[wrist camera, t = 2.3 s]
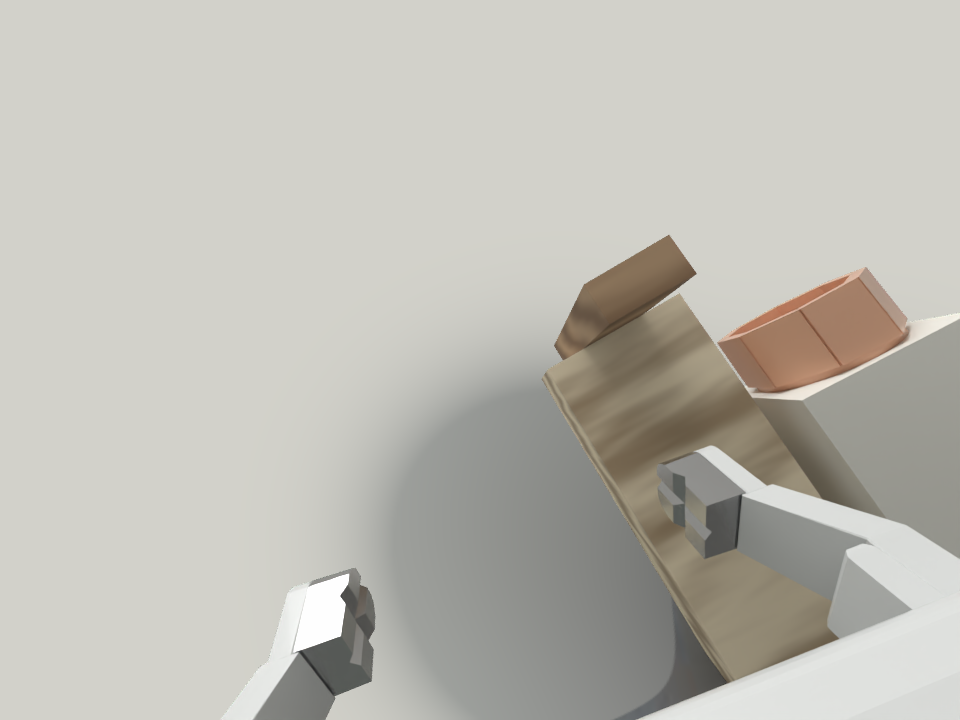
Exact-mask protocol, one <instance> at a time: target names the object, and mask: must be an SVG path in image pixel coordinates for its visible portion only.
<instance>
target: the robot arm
mask: <svg viewBox="0 0 960 720" xmlns="http://www.w3.org/2000/svg"><path fill="white" fill-rule="evenodd" d="M657 476H658V477H659V478H660V479H661V480H662V481H661V483H660V484H659V486H658V487H657V489H658V498H659V500H660V503H661V506H662V508H663V509H664V511H665V513H666V514H667V516H668V517H669V518H670V519H671V521H672V522H673V523H675V524H677V525H679V526H682V527H684V528H685V537H686V538H687V539H688V541H689V542H690V543H691V544H692V545H693V546H694V548H695V549H696V550H697V551H698V552H699V553H700V555H701V556H702V557H703V558H704V559H707V558H710V557H713V556H716V555H719V554H722V553H725V552H728V551H731V550H734V549H737V551H739V552H741V553H742V554H744V555H746V556H748V557H750V558H752V559H754V560H756V561H757V562H759V563H761V564H763V565H765V566H767V567H769V568H771V569H772V570H774V571H776V572H778V573H780V574H782V575H784V576H786V577H787V578H789V579H791V580H793V581H795V582H797V583H799V584H801V585H802V586H804V587H806V588H808V589H810V590H812V591H814V592H816V593H817V594H819V595H821V596H823V597H825V598H827V599H829V600H831V601H832V604H831V607H830V611H829V615H828V618H827V627H828V628H829V629H830V630H831V631H832V632H833V633H834V634H835V635H836V636H837V637H838V638H839V639H838V640H835V641H833V642H830V643H828V644H825V645H823V646H820V647H818V648H815V649H813V650H810V651H808V652H805V653H803V654H800V655H798V656H795V657H793V658H790V659H788V660H785V661H783V662H780V663H778V664H775V665H773V666H770V667H768V668H765V669H763V670H760V671H758V672H755V673H753V674H750V675H748V676H745V677H743V678H740V679H737V680H735V681H732V682H730V683H727V684H725V685H722V686H720V687H717V688H715V689H712V690H710V691H707V692H705V693H702V694H700V695H697V696H695V697H692V698H690V699H687V700H685V701H682V702H680V703H677V704H675V705H672V706H670V707H667V708H665V709H662V710H660V711H657V712H655V713H652V714H650V715H647V716H645V717H642V718H640V719H637V720H960V559H958V558H957V557H955V556H954V555H952V554H951V553H949V552H948V551H946V550H944V549H943V548H941V547H940V546H938V545H937V544H935V543H933V542H932V541H930V540H929V539H927V538H926V537H924V536H923V535H921V534H919V533H918V532H916V531H915V530H913V529H912V528H910V527H909V526H907V525H904V524H901V523H897V522H894V521H891V520H888V519H884V518H881V517H878V516H875V515H871V514H868V513H865V512H862V511H858V510H855V509H852V508H849V507H845V506H842V505H839V504H836V503H832V502H829V501H826V500H823V499H819V498H816V497H813V496H810V495H806V494H803V493H800V492H797V491H793V490H790V489H787V488H784V487H780V486H777V485H774V484H772V485H768V486H767V485H765V484H764V483H763V482H761V481H760V480H759V479H758V478H756V477H755V476H754V475H752V474H751V473H750V472H748V471H747V470H746V469H744V468H743V467H742V466H741V465H739V464H738V463H737V462H735V461H734V460H733V459H731V458H730V457H729V456H728V455H726V454H725V453H724V452H722V451H721V450H720V449H718V448H717V447H715V446H712V445H711V446H708V447H705V448H702V449H699V450H696V451H694V452H690V453H687V454H684V455H682V456H679V457H676V458H673V459H670V460H667V461H665V462H662V463H659V464H658V466H657ZM360 580H361V576H360V574H359V573H358V571H357V570H356V568H352V569H349V570H346V571H342V572H339V573H336V574H333V575H329V576H326V577H323V578H320V579H316V580H314V581H311V582H308V583H305V584H301V585H298V586H295V587H292V588H291V590H290V591H289V593H288V594H287V597H286V600H285V603H284V607H283V610H282V614H281V617H280V621H279V624H278V628H277V631H276V635H275V639H274V642H273V645H272V649H271V652H270V655H269V659H268V662H267V663H266V664H263V665H261V666H260V667H259V668H258V670H257V671H256V672H255V674H254V675H253V676H252V678H251V679H250V680H249V682H248V683H247V684H246V686H245V687H244V688H243V690H242V691H241V693H240V694H239V695H238V697H237V698H236V699H235V701H234V702H233V703H232V705H231V706H230V707H229V709H228V710H227V711H226V713H225V714H224V715H223V717H222V718H221V719H220V720H325V719H326V717H327V715H328V713H329V711H330V709H331V706H332V704H333V702H334V700H335V697H334V696H336V695H339V694H341V693H344V692H346V691H349V690H351V689H354V688H356V687H359V686H361V685H363V684H366V683H369V682H371V681H372V667H373V651H374V650H373V647H372V646H371V644H370V643H369V641H368V640H369V638H370V636H371V635H372V633H373V631H374V629H375V611H374V603H373V599H372V596H371V594H370V592H369V590H368V588H366V587H364V586H361V585H360Z"/></svg>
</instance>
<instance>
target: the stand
mask: <svg viewBox="0 0 960 720" xmlns="http://www.w3.org/2000/svg"><path fill="white" fill-rule="evenodd" d="M542 380H543V382H544V384H545V385H546V387H547V389H548V390H549V392H550V394H551V395H552V397H553V399H554V400H555V402H556V404H557V405H558V407H559V409H560V410H561V412H562V414H563V415H564V417H565V419H566V420H567V422H568V424H569V425H570V427H571V429H572V430H573V432H574V433H575V435H576V437H577V439H578V440H579V442H580V444H581V445H582V447H583V449H584V451H585V452H586V454H587V455H588V457H589V459H590V461H591V462H592V464H593V465H594V467H595V468H596V471H597V472H598V474H599V475H600V477H601V479H602V481H603V482H604V484H605V485H606V487H607V489H608V491H609V492H610V494H611V496H612V497H613V499H614V501H615V502H616V504H617V505H618V507H619V509H620V510H621V512H622V514H623V516H624V517H625V519H626V520H627V522H628V524H629V526H630V527H631V529H632V530H633V532H634V534H635V536H636V537H637V539H638V541H639V542H640V544H641V546H642V547H643V549H644V551H645V552H646V554H647V556H648V557H649V559H650V561H651V562H652V564H653V566H654V567H655V569H656V571H657V572H658V574H659V576H660V577H661V579H662V581H663V582H664V584H665V586H666V587H667V589H668V591H669V592H670V594H671V596H672V597H673V599H674V601H675V602H676V604H677V606H678V607H679V609H680V611H681V612H682V614H683V616H684V617H685V619H686V621H687V622H688V624H689V626H690V627H691V629H692V631H693V632H694V634H695V636H696V638H697V639H698V641H699V643H700V644H701V646H702V648H703V649H704V651H705V652H706V654H707V655H708V656H709V658H710V659H711V661H712V662H713V663H714V665H715V666H716V668H717V669H718V670H719V672H720V673H721V675H722V676H723V677H724V679H725V680H726V681H727V683H730V682H732V681H735V680H737V679H740V678H743V677H745V676H748V675H750V674H753V673H755V672H758V671H760V670H763V669H765V668H768V667H770V666H773V665H775V664H778V663H780V662H783V661H785V660H788V659H790V658H793V657H795V656H798V655H800V654H803V653H805V652H808V651H810V650H813V649H815V648H818V647H820V646H823V645H825V644H828V643H830V642H833V641H835V640H838V639H839V638H838V637H837V636H836V635H835V634H834V633H833V632H832V631H831V630H830V629H829V628H828V627H827V618H828V615H829V611H830V607H831V604H832V601H831V600H829V599H827V598H825V597H823V596H821V595H819V594H817V593H816V592H814V591H812V590H810V589H808V588H806V587H804V586H802V585H801V584H799V583H797V582H795V581H793V580H791V579H789V578H787V577H786V576H784V575H782V574H780V573H778V572H776V571H774V570H772V569H771V568H769V567H767V566H765V565H763V564H761V563H759V562H757V561H756V560H754V559H752V558H750V557H748V556H746V555H744V554H742V553H741V552H739V551H737V549H734V550H731V551H728V552H725V553H722V554H719V555H716V556H713V557H710V558H707V559H704V558H703V557H702V556H701V555H700V553H699V552H698V551H697V550H696V549H695V548H694V546H693V545H692V544H691V543H690V542H689V541H688V539H687V538H686V537H685V528H684V527H682V526H679V525H677V524H675V523H673V522H672V521H671V519H670V518H669V517H668V516H667V514H666V513H665V511H664V509H663V508H662V506H661V503H660V500H659V498H658V489H657V487H658V486H659V484H660V483H661V481H662V480H661V479H660V478H659V477H658V476H657V466H658V464H659V463H662V462H665V461H667V460H670V459H673V458H676V457H679V456H682V455H684V454H687V453H690V452H694V451H696V450H699V449H702V448H705V447H708V446H711V445H712V446H715V447H717V448H718V449H720V450H721V451H722V452H724V453H725V454H726V455H728V456H729V457H730V458H731V459H733V460H734V461H735V462H737V463H738V464H739V465H741V466H742V467H743V468H744V469H746V470H747V471H748V472H750V473H751V474H752V475H754V476H755V477H756V478H758V479H759V480H760V481H761V482H763V483H764V484H765V485H767V486H768V485H772V484H774V485H777V486H780V487H784V488H787V489H790V490H793V491H797V492H800V493H803V494H806V495H810V496H813V497H816V498H819V499H822V498H821V496H820V495H819V493H818V492H817V490H816V489H815V487H814V486H813V485H812V483H811V482H810V480H809V479H808V477H807V476H806V475H805V473H804V472H803V470H802V469H801V467H800V466H799V464H798V463H797V462H796V460H795V459H794V457H793V456H792V454H791V453H790V452H789V450H788V449H787V447H786V446H785V444H784V443H783V441H782V440H781V439H780V437H779V436H778V434H777V433H776V431H775V430H774V429H773V427H772V426H771V424H770V423H769V421H768V420H767V418H766V417H765V416H764V414H763V413H762V411H761V410H760V408H759V407H758V406H757V404H756V403H755V401H754V400H753V398H752V397H751V395H750V394H749V393H748V391H747V390H746V388H745V387H744V386H743V384H742V383H741V381H740V380H739V378H738V377H737V375H736V374H735V372H734V371H733V370H732V368H731V367H730V365H729V364H728V362H727V361H726V360H725V358H724V357H723V355H722V354H721V352H720V351H719V349H718V348H717V347H716V345H715V344H714V342H713V341H712V339H711V338H710V337H709V335H708V334H707V332H706V331H705V329H704V328H703V327H702V325H701V324H700V322H699V321H698V319H697V318H696V317H695V315H694V314H693V312H692V311H691V310H690V308H689V306H688V305H687V304H686V302H685V301H684V299H683V298H682V296H681V295H680V294H678V295H676V296H674V297H672V298H671V299H669V300H667V301H666V302H664V303H662V304H661V305H659V306H657V307H655V308H653V309H652V310H650V311H648V312H646V313H645V314H643V315H641V316H640V317H638V318H636V319H634V320H633V321H631V322H629V323H627V324H626V325H624V326H622V327H621V328H619V329H617V330H615V331H614V332H612V333H610V334H608V335H607V336H605V337H603V338H601V339H600V340H598V341H596V342H595V343H593V344H591V345H589V346H588V347H586V348H584V349H582V350H581V351H579V352H577V353H575V354H574V355H572V356H570V357H569V358H567V359H565V360H563V361H562V362H560V363H558V364H557V365H555V366H553V367H551V368H550V369H548V370H547V372H546V373H545V375H544V376H543V378H542Z"/></svg>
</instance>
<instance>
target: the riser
mask: <svg viewBox="0 0 960 720" xmlns="http://www.w3.org/2000/svg"><path fill="white" fill-rule="evenodd" d="M905 327H906V329H907V330H908V332H909V334H908V336H907V337H906V338H905V339H904V340H903V341H902V342H901V343H899V344H898V345H897V346H895V347H894V348H892V349H890V350H889V351H887V352H885V353H884V354H882V355H880V356H878V357H876V358H874V359H872V360H870V361H868V362H866V363H864V364H862V365H860V366H857V367H855V368H853V369H850V370H848V371H846V372H843V373H841V374H838V375H836V376H833V377H830V378H827V379H825V380H822V381H819V382H816V383H813V384H809V385H806V386H803V387H799V388H795V389H791V390H786V391H781V392H774V393H762V392H760V391H758V389H757V388H748V386H747V385H746V386H744V387H745V388H746V390H747V391H748V393H749V394H750V395H751V397H752V398H753V400H754V401H755V403H756V404H757V406H758V407H759V408H760V410H761V411H762V413H763V414H764V416H765V417H766V418H767V420H768V421H769V423H770V424H771V426H772V427H773V429H774V430H775V431H776V433H777V434H778V436H779V437H780V439H781V440H782V441H783V443H784V444H785V446H786V447H787V449H788V450H789V452H790V453H791V454H792V456H793V457H794V459H795V460H796V462H797V463H798V464H799V466H800V467H801V469H802V470H803V472H804V473H805V475H806V476H807V477H808V479H809V480H810V482H811V483H812V485H813V486H814V487H815V489H816V490H817V492H818V493H819V495H820V496H821V498H822V499H823V500H826V501H829V502H832V503H836V504H839V505H842V506H845V507H849V508H852V509H855V510H858V511H862V512H865V513H868V514H871V515H875V516H878V517H881V518H884V519H888V520H891V521H894V522H897V523H901V524H904V525H907V526H909V527H910V528H912V529H913V530H915V531H916V532H918V533H919V534H921V535H923V536H924V537H926V538H927V539H929V540H930V541H932V542H933V543H935V544H937V545H938V546H940V547H941V548H943V549H944V550H946V551H948V552H949V553H951V554H952V555H954V556H955V557H957V558H958V559H960V313H956V314H951V315H945V316H940V317H934V318H929V319H923V320H918V321H912V322H907V323H906V326H905Z"/></svg>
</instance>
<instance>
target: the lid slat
mask: <svg viewBox="0 0 960 720" xmlns="http://www.w3.org/2000/svg"><path fill="white" fill-rule="evenodd" d="M694 275H696V272H695V271H694V269H693V268H692V266H691V265H690V264H689V262H688V261H687V259H686V258H685V257H684V255H683V254H682V252H681V251H680V250H679V248H678V247H677V245H676V244H675V242H674V241H673V240H672V238H671V237H670V236H669V235H668V236H666V237H664V238H663V239H661V240H659V241H658V242H656V243H654V244H652V245H651V246H649V247H647V248H646V249H644V250H642V251H641V252H639V253H637V254H635V255H634V256H632V257H630V258H629V259H627V260H625V261H624V262H622V263H620V264H618V265H617V266H615V267H613V268H612V269H610V270H608V271H606V272H605V273H603V274H601V275H600V276H598V277H596V278H594V279H593V280H591V281H589V282H588V283H586V284H584V286H583V288H582V290H581V292H580V294H579V296H578V298H577V300H576V302H575V304H574V306H573V308H572V310H571V312H570V314H569V316H568V318H567V320H566V323H565V325H564V327H563V329H562V331H561V333H560V335H559V337H558V339H557V341H556V343H555V345H554V346H555V348H556V350H557V351H558V353H559V354H560V356H561V358H562V359H563V360H565V359H567V358H569V357H570V356H572V355H574V354H575V353H577V352H579V351H581V350H582V349H584V348H586V347H588V346H589V345H591V344H593V343H595V342H596V341H598V340H600V339H601V338H603V337H605V336H607V335H608V334H610V333H612V332H614V331H615V330H617V329H619V328H621V327H622V326H624V325H626V324H627V323H629V322H631V321H633V320H634V319H636V318H638V317H640V316H641V315H643V314H644V313H646V312H647V311H648V310H649V309H651V308H652V307H653V306H655V305H656V304H657V303H659V302H660V301H661V300H663V299H664V298H665V297H666V296H668V295H669V294H670V293H672V292H673V291H675V290H676V289H677V288H679V287H680V286H681V285H682V284H684V283H685V282H686V281H688V280H689V279H690V278H692V277H693V276H694Z"/></svg>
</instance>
